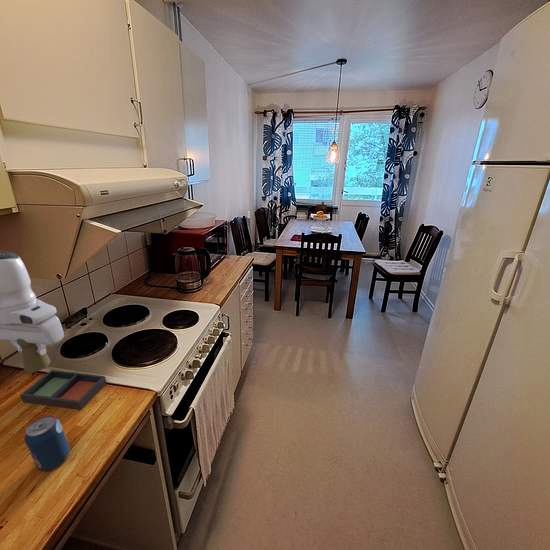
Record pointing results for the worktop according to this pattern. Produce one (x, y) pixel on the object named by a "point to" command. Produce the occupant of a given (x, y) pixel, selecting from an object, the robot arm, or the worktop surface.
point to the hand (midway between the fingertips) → (33, 352)
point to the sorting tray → (64, 389)
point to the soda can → (47, 443)
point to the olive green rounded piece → (32, 357)
